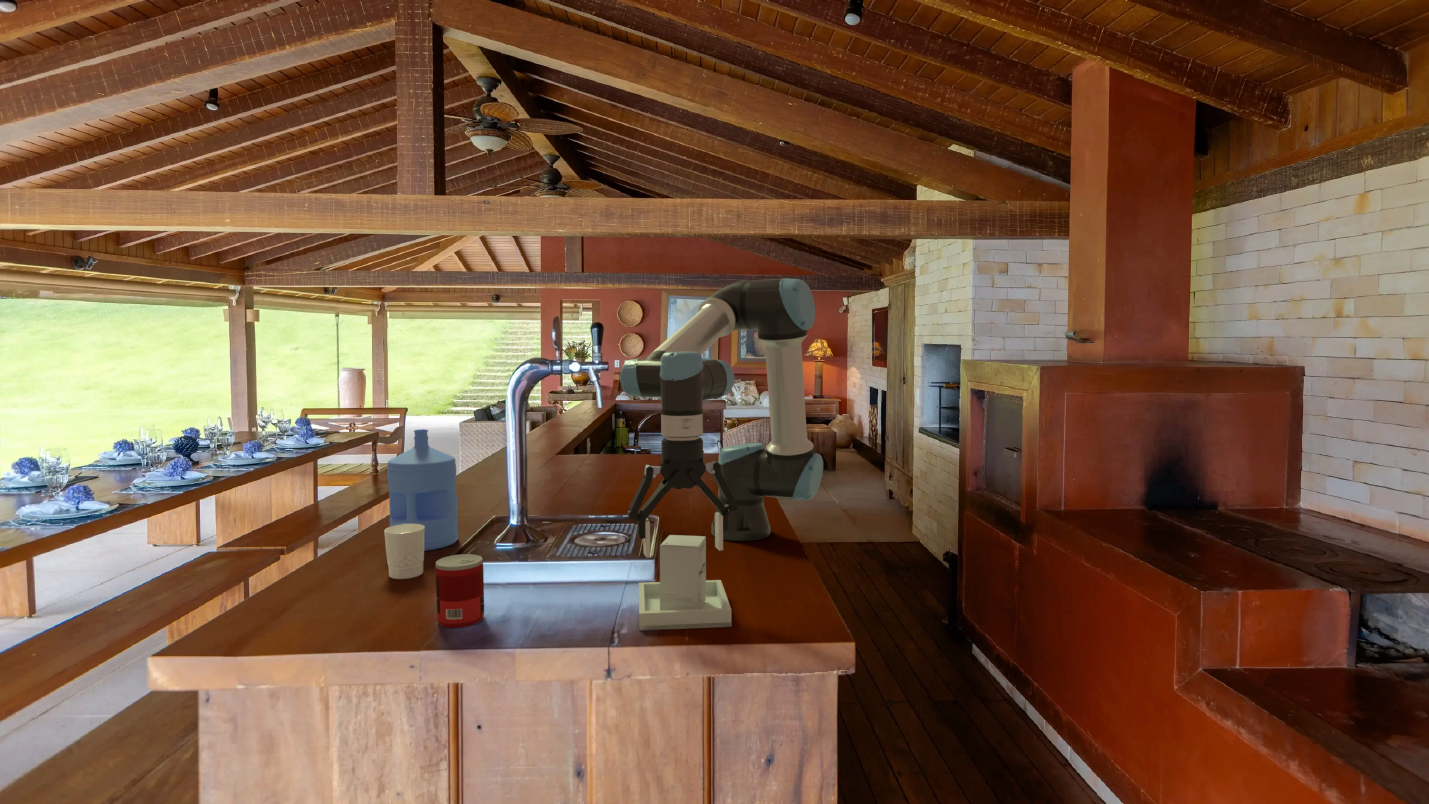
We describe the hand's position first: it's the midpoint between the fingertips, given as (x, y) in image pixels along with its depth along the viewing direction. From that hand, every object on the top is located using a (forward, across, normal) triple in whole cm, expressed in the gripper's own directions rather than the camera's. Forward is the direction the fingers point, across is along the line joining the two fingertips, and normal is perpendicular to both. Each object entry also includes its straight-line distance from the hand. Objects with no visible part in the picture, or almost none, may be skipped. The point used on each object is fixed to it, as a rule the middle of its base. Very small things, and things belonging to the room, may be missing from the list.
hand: (683, 552), depth 134 cm
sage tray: (+11, 0, 0) cm, 11 cm away
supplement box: (+10, 0, 0) cm, 11 cm away
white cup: (+11, -52, +37) cm, 65 cm away
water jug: (+12, -51, +61) cm, 80 cm away
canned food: (+11, -39, +6) cm, 41 cm away
